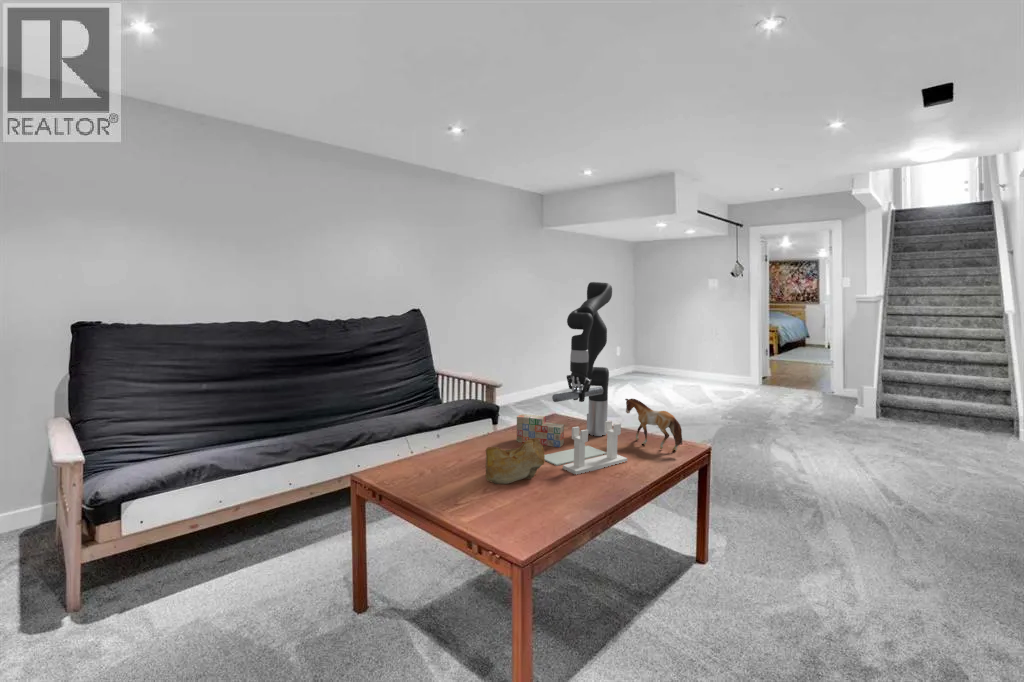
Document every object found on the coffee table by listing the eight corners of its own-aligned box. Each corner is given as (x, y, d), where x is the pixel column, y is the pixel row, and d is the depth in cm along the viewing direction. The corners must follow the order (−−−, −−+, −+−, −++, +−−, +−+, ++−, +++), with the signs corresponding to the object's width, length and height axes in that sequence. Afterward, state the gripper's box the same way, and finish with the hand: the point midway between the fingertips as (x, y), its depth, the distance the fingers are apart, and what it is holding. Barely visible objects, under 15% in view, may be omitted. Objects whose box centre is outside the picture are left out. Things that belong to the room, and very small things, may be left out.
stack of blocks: (564, 444, 239) (564, 417, 237) (560, 447, 233) (560, 421, 232) (521, 438, 247) (521, 413, 246) (516, 442, 241) (516, 416, 240)
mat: (538, 457, 219) (538, 456, 219) (587, 446, 234) (587, 445, 234) (556, 465, 209) (556, 464, 209) (606, 453, 224) (606, 452, 224)
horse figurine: (622, 440, 245) (623, 397, 242) (632, 437, 249) (633, 395, 247) (680, 457, 221) (682, 410, 218) (690, 454, 225) (692, 407, 223)
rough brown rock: (532, 468, 208) (530, 431, 208) (549, 479, 193) (547, 439, 192) (476, 477, 200) (474, 438, 200) (489, 489, 185) (487, 447, 184)
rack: (562, 468, 206) (563, 428, 204) (613, 456, 221) (614, 418, 219) (576, 474, 199) (577, 433, 197) (627, 461, 215) (628, 422, 213)
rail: (556, 403, 209) (557, 395, 208) (551, 400, 211) (552, 393, 211) (603, 395, 224) (604, 388, 223) (597, 392, 226) (598, 385, 225)
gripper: (597, 361, 212) (596, 402, 214) (574, 357, 223) (574, 396, 225) (584, 363, 208) (583, 405, 210) (561, 358, 219) (560, 398, 221)
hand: (578, 400), depth 218 cm, fingers closed on rail, 3 cm apart
